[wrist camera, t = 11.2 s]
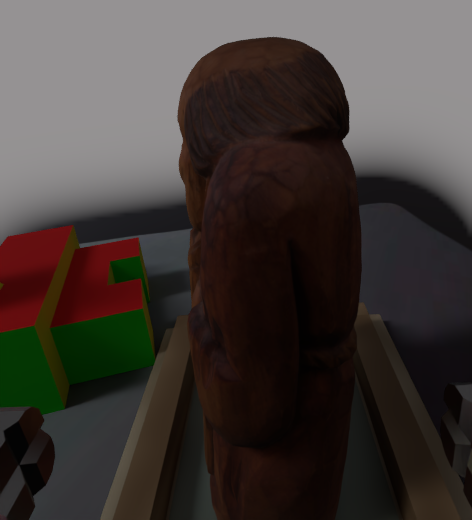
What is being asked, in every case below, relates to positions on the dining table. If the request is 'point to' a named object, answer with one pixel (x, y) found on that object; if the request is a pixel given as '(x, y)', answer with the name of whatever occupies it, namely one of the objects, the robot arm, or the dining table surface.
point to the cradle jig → (358, 452)
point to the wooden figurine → (271, 275)
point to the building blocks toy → (69, 315)
